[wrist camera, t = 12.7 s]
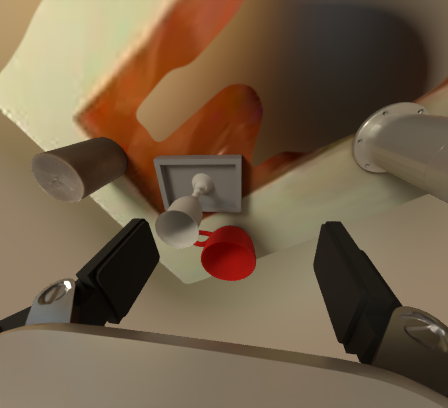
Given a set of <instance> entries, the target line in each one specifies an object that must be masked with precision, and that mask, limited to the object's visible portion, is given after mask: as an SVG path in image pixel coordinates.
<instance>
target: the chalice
mask: <svg viewBox="0 0 448 408" xmlns="http://www.w3.org/2000/svg"><path fill="white" fill-rule="evenodd" d="M192 185H193V189H194V193H193V194H192V196H184V197H181V198H179V199H177V200H175V201H174V202H173V203H172V204H171V206H170V207H169V209H168V210H167V211H166V212H164V213H162V214H160V216H159V217H158V218H157V220H156V223H155V227H156V232H157V234H158V236H159V237H160V239H161V240H162V241H163V242H165V243H166V244H167V245H169V246H172V247H175V248H187V247H189V246H192V245H193V244H194V243H195V242H196V241H197V239H198V236H199V230H198V228H199V225H200V223H201V220H202V215H203V213H202V208H201V204H200V202H199V200H198V199H199V196H200V195H201V194H204V193H207V192H209V191H210V190H211V189H212V187H213V182H212V179H211V178H210V177H209V176H208V175H206V174H203V173H200V174H197V175H195V176H194V177H193V179H192Z"/></svg>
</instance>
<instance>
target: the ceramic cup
mask: <svg viewBox="0 0 448 408" xmlns="http://www.w3.org/2000/svg"><path fill="white" fill-rule="evenodd" d="M199 235H205V236H209V238H208V239H207V240H206V241H204V242H199V241H196V242H195V243H194V245H195V246H199V247H204V248H203V251H202V254H201V263H202V266H203V267H204V269H205V270H206V271H207V272H208V273H209V274H211V275H212V276H214V277H216V278H218V279H222V280H227V281H236V280H241V279H243V278H246V277H247V276H249V275H250V274H251V273H252V272H253V271H254V269H255V266H256V255H255V250H254V245H253V243H252V240H251V238H250V237H249V235H248V234H247V233H246V232H245V231H244V230H242V229H241V228H239V227H236V226H224V227H221V228H219V229H217V230H216V231H214V232H213V233H212V232H208V231H202V230H199Z"/></svg>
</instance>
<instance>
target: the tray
mask: <svg viewBox="0 0 448 408" xmlns="http://www.w3.org/2000/svg"><path fill="white" fill-rule="evenodd" d="M153 161H154V165H155V169H156V174H157V178H158V182H159V186H160V191H161V195H162V199H163V203H164V208H165V211H167V210H168V209H169V207H170V206H171V204H172V203H173V202H174V201H175V200H177V199H179V198H181V197H184V196H192V194H193V193H194V189H193V185H192V179H193V177H194V176H195V175H197V174H200V173H203V174H206V175H208V176H209V177H210V178H211V179H212V182H213V187H212V189H211V190H210V191H209V192H207V193H204V194H201V195H200V196H199V199H198V200H199V202H200V204H201V208H202V212H240V213H241V208H242V155H177V156H158V157H156V158H155V159H153Z"/></svg>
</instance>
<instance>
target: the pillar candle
mask: <svg viewBox="0 0 448 408" xmlns="http://www.w3.org/2000/svg"><path fill="white" fill-rule="evenodd" d="M30 168H31V172H32V175H33V177H34V179H35V181H36V182H37V183H38V185H39V186H40V188H41V189H42V190H44V191H45V192H46V193H47V194H48V195H50V196H52V197H54V198H55V199H57V200H60V201H62V202H66V203H76V202H79V201H81V200H82V199H83V198H85V197H87V196H88V195H90V194H91V193H93V192H95V191H96V190H98V189H100V188H101V187H103V186H105V185H106V184H108V183H110V182H111V181H113V180H115V179H116V178H118V177H120V176H121V175H122V174H123V173H125V171H126V169H127V159H126V156H125V154H124V152H123V150H122V149H121V147H120V146H119V145H118V144H117V143H115V142H114V141H112V140H110V139H108V138H105V137H100V138H94V139H90V140H87V141H83V142H80V143H76V144H72V145H69V146H66V147H62V148H58V149H55V150H51V151H47V152H44V153H40V154H37V155H35V156H34V157H33V158H32V160H31V164H30Z"/></svg>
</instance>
